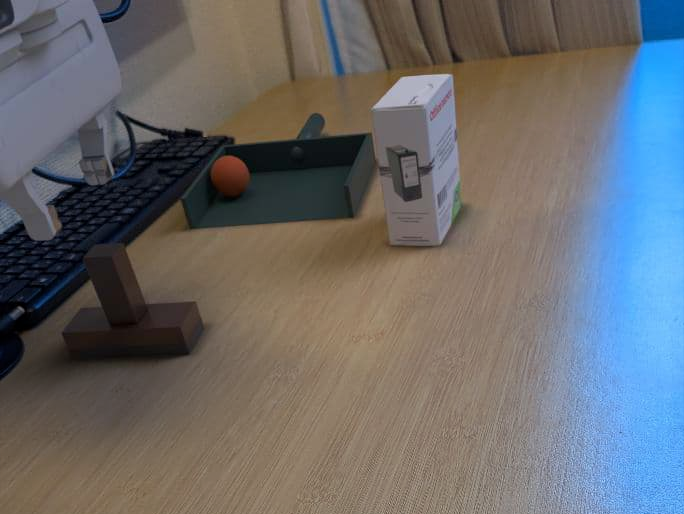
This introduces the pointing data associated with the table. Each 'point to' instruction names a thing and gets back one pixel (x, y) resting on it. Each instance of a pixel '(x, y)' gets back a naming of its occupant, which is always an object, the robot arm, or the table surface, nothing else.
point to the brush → (128, 315)
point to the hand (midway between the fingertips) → (76, 207)
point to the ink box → (418, 159)
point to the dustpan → (287, 180)
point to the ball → (230, 176)
